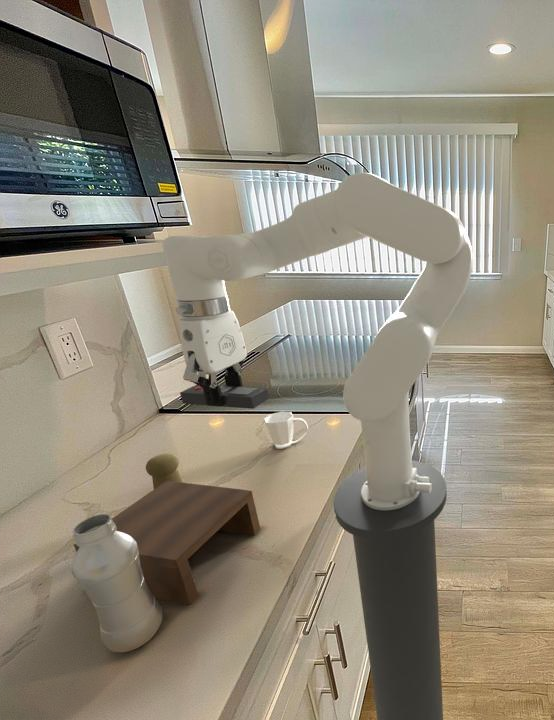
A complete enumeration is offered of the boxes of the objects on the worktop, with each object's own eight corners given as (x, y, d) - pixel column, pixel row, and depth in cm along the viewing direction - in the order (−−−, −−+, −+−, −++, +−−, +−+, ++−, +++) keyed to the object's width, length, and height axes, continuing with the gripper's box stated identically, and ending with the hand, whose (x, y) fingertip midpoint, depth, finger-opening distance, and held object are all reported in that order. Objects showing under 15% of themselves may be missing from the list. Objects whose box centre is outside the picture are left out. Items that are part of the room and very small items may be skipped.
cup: (272, 439, 106) (266, 412, 104) (311, 434, 109) (307, 408, 106) (266, 453, 100) (260, 425, 97) (308, 447, 103) (303, 420, 100)
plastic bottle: (170, 606, 60) (132, 499, 54) (161, 646, 55) (117, 532, 48) (116, 626, 57) (68, 515, 51) (100, 670, 52) (45, 552, 45)
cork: (162, 496, 84) (147, 452, 81) (195, 490, 86) (182, 446, 83) (151, 515, 79) (135, 468, 75) (187, 508, 81) (173, 462, 77)
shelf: (260, 529, 76) (251, 490, 73) (190, 605, 61) (175, 560, 58) (178, 518, 78) (166, 480, 75) (92, 588, 63) (73, 544, 60)
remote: (269, 398, 78) (266, 386, 77) (253, 409, 74) (250, 396, 73) (201, 394, 80) (198, 382, 79) (182, 403, 76) (179, 391, 75)
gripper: (183, 319, 62) (209, 421, 69) (255, 299, 78) (271, 383, 84) (142, 317, 63) (171, 418, 70) (221, 298, 79) (240, 381, 85)
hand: (226, 398), depth 77 cm, fingers closed on remote, 4 cm apart
